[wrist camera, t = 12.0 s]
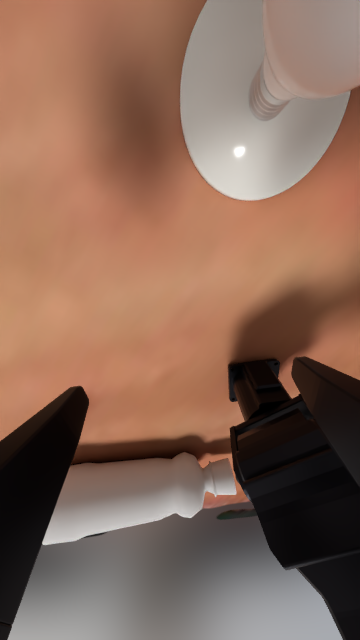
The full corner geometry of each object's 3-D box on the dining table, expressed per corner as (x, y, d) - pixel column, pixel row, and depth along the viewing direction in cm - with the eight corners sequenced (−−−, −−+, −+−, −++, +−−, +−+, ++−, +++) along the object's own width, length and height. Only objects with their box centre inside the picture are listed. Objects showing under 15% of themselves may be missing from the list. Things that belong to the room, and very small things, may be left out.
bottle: (69, 509, 34) (230, 485, 33) (26, 568, 25) (246, 537, 24) (65, 455, 35) (220, 431, 35) (23, 494, 26) (233, 462, 26)
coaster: (328, 188, 16) (333, 187, 15) (190, 211, 16) (190, 210, 16) (371, -61, 11) (382, -77, 10) (166, -17, 11) (166, -29, 11)
